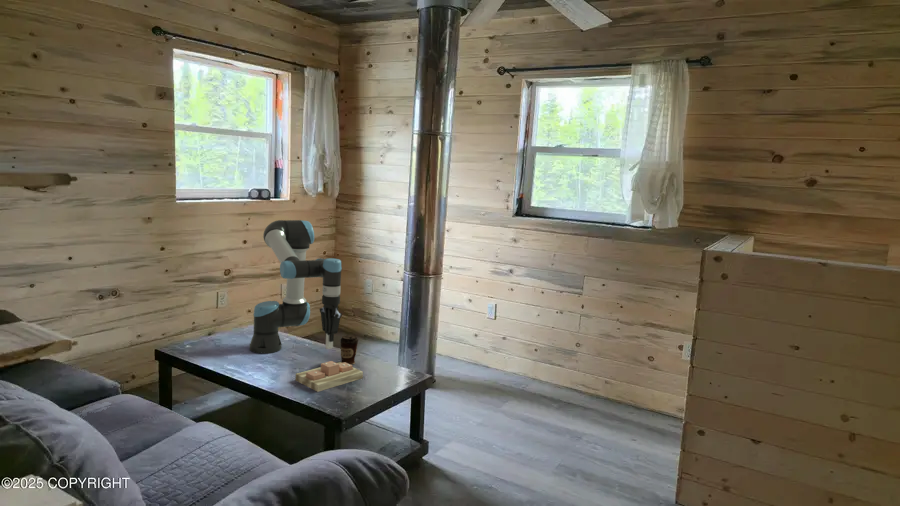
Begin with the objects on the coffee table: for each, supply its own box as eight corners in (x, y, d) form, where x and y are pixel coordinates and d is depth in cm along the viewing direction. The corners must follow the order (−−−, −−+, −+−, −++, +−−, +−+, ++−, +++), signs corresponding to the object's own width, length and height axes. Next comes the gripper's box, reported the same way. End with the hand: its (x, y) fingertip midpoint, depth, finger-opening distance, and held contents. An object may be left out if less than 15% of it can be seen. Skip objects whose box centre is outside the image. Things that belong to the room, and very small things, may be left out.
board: (295, 380, 238) (295, 373, 237) (340, 368, 256) (340, 361, 256) (317, 391, 228) (317, 384, 227) (362, 378, 246) (363, 371, 245)
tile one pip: (305, 382, 236) (306, 372, 235) (316, 379, 240) (317, 369, 239) (313, 386, 232) (314, 375, 232) (324, 383, 236) (325, 372, 236)
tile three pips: (334, 374, 247) (334, 364, 246) (344, 371, 251) (344, 361, 251) (342, 378, 243) (342, 367, 243) (352, 375, 248) (352, 365, 247)
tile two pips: (320, 373, 241) (321, 363, 240) (331, 370, 245) (331, 360, 245) (328, 377, 238) (328, 366, 237) (339, 374, 242) (339, 363, 241)
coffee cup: (352, 367, 258) (354, 340, 256) (336, 364, 260) (337, 338, 258) (359, 361, 267) (360, 335, 265) (343, 359, 268) (344, 333, 266)
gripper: (314, 293, 237) (313, 345, 241) (333, 299, 229) (331, 353, 232) (329, 291, 243) (327, 342, 246) (347, 296, 234) (345, 350, 238)
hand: (329, 348), depth 239 cm, fingers closed
